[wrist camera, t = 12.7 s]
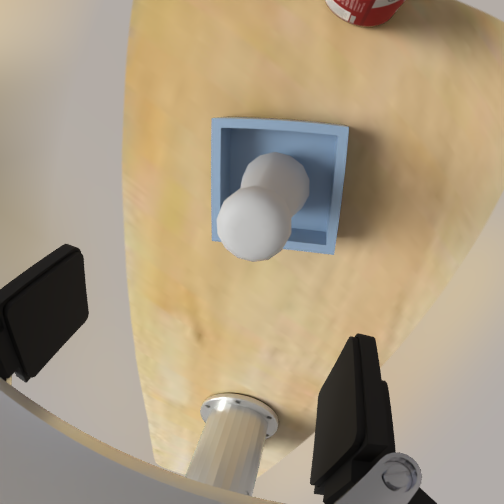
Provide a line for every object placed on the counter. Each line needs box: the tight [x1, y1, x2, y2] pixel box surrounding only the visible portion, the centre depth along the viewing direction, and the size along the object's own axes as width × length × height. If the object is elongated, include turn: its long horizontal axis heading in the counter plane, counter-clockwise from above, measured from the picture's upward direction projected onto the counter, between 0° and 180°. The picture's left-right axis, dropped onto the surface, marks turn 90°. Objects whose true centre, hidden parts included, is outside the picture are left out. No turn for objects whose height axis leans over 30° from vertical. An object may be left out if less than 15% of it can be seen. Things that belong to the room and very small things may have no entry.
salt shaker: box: [217, 152, 309, 262], centre depth 23 cm, size 6×6×13 cm
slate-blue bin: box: [211, 117, 349, 255], centre depth 28 cm, size 11×11×4 cm
